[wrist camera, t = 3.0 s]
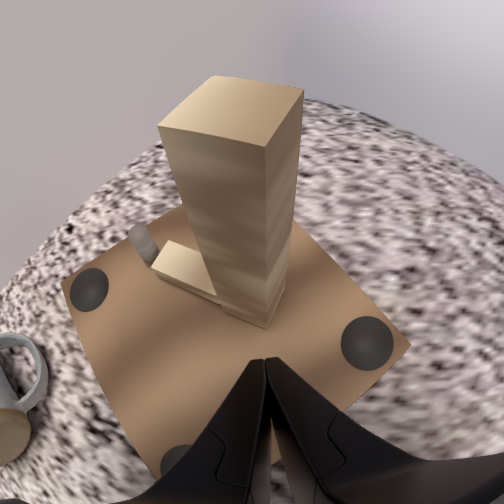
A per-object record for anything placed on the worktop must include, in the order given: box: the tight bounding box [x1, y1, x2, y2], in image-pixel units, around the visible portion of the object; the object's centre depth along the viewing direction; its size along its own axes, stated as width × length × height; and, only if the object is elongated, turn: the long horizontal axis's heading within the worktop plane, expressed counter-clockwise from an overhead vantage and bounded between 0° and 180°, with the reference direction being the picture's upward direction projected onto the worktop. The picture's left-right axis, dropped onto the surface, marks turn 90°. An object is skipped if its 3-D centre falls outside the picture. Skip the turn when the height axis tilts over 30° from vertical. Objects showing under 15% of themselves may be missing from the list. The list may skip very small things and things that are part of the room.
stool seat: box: [61, 204, 411, 480], centre depth 16 cm, size 17×16×4 cm
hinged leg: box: [151, 76, 304, 329], centre depth 12 cm, size 7×3×12 cm, turn 66°
